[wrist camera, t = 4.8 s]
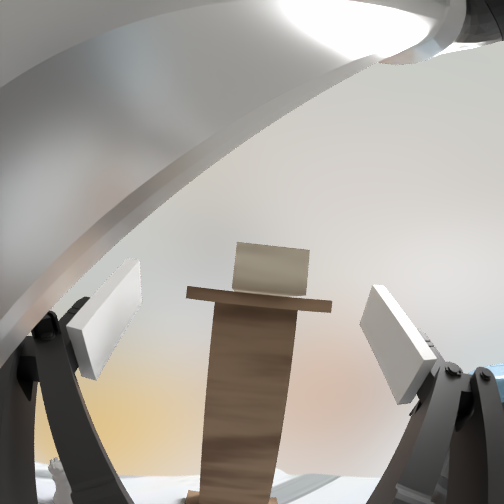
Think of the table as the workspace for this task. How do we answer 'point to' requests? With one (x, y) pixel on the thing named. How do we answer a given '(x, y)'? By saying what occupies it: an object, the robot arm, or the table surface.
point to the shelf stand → (246, 393)
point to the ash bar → (270, 270)
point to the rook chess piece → (60, 483)
